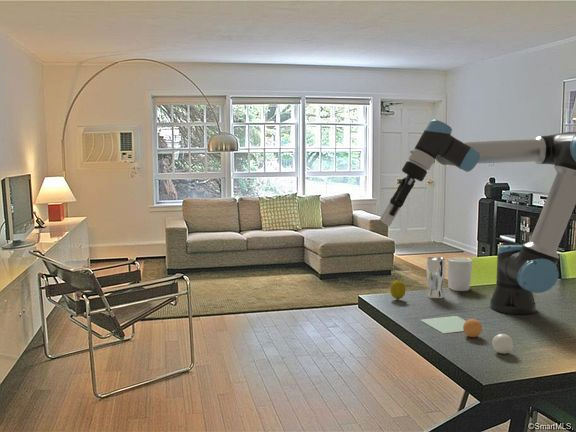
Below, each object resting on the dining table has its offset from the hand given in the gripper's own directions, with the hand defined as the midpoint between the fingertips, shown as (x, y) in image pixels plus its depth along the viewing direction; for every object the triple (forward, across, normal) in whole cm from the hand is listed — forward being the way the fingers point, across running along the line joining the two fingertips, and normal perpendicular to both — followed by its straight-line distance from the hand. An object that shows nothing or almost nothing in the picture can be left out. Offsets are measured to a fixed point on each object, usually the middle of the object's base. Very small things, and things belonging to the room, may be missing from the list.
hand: (384, 222), depth 182 cm
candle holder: (+10, -48, +44) cm, 66 cm away
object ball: (+14, +10, +38) cm, 42 cm away
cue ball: (+12, +23, +44) cm, 51 cm away
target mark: (+18, -1, +35) cm, 40 cm away
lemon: (+24, -28, +21) cm, 43 cm away
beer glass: (+16, -35, +34) cm, 51 cm away
